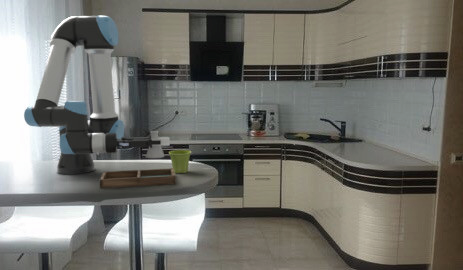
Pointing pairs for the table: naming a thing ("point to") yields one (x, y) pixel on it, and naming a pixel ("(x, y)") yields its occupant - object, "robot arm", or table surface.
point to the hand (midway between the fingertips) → (169, 141)
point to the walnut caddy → (137, 178)
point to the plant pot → (180, 160)
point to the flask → (154, 148)
